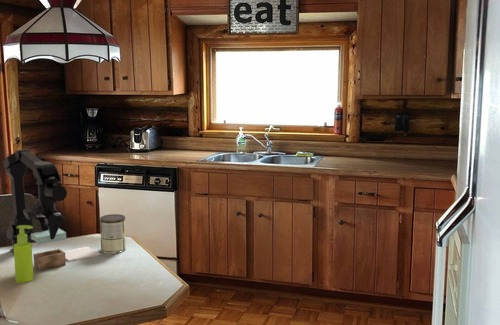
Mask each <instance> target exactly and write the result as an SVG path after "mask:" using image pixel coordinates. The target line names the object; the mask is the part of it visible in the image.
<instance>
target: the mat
mask: <svg viewBox="0 0 500 325" xmlns="http://www.w3.org/2000/svg"><path fill="white" fill-rule="evenodd" d="M62 251H63V250H62ZM63 252H65V260H66V261H67V262H68V263H69V262H74V261H78V260H83V259H87V258H92V257H93V258H94V257H97V256H100V255H101V253H100V252H98V251H96V250H94V249H92V248H91V247H89V246H84V247H78V248H74V249H73V248H72V249H68V250H64V251H63Z"/></svg>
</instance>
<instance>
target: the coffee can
mask: <svg viewBox="0 0 500 325" xmlns="http://www.w3.org/2000/svg"><path fill="white" fill-rule="evenodd" d="M99 221H100V222H99V223H100V227H99V228H100V251H101V252H102V253H103V252H104V254H110V253H111V254H118V253H117V252H120V251H123V250H124V249H125V248H126V247H127V246H126V245H127V244H126V216H125V215H123V214H120V213H119V214H118V213H117V214H116V213H113V214H105V215H102V216H100V217H99ZM126 249H127V248H126ZM123 252H124V251H123ZM120 253H121V252H120Z"/></svg>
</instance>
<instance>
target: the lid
mask: <svg viewBox="0 0 500 325" xmlns="http://www.w3.org/2000/svg"><path fill="white" fill-rule="evenodd" d="M30 240H31V241H34V242H36V243H37V245H42V244H47V243H52V242H57V241H63V240H67V232H66V231H64V230H63V229H61V228H59V229H58V231H57V233H56V235H55V238H54V239H52V240H51V238H50V234H49V229H48V230H47V231H42V230H41V231H36V232H32V233H31V236H30Z"/></svg>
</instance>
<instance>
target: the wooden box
mask: <svg viewBox="0 0 500 325" xmlns="http://www.w3.org/2000/svg"><path fill="white" fill-rule="evenodd" d="M32 257H33V268H35V269H37V270H38V271H39V272H40V271H45V270H50V269H54V268H59V267H64V266H66V264H67V262H66V261H67V260H66V259H65V252H63V250H62V249H60V248H56V249H52V250H51V249H50V250H47V251H40V252H36V253H32Z"/></svg>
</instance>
